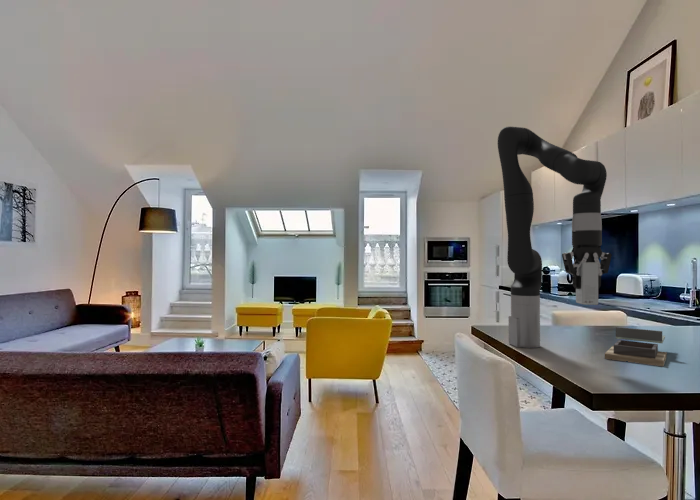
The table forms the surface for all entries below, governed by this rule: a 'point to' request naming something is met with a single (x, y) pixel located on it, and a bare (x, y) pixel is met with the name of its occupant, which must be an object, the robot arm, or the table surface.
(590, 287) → the skincare box
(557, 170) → the robot arm
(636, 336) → the cover
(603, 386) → the table surface
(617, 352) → the socket board
